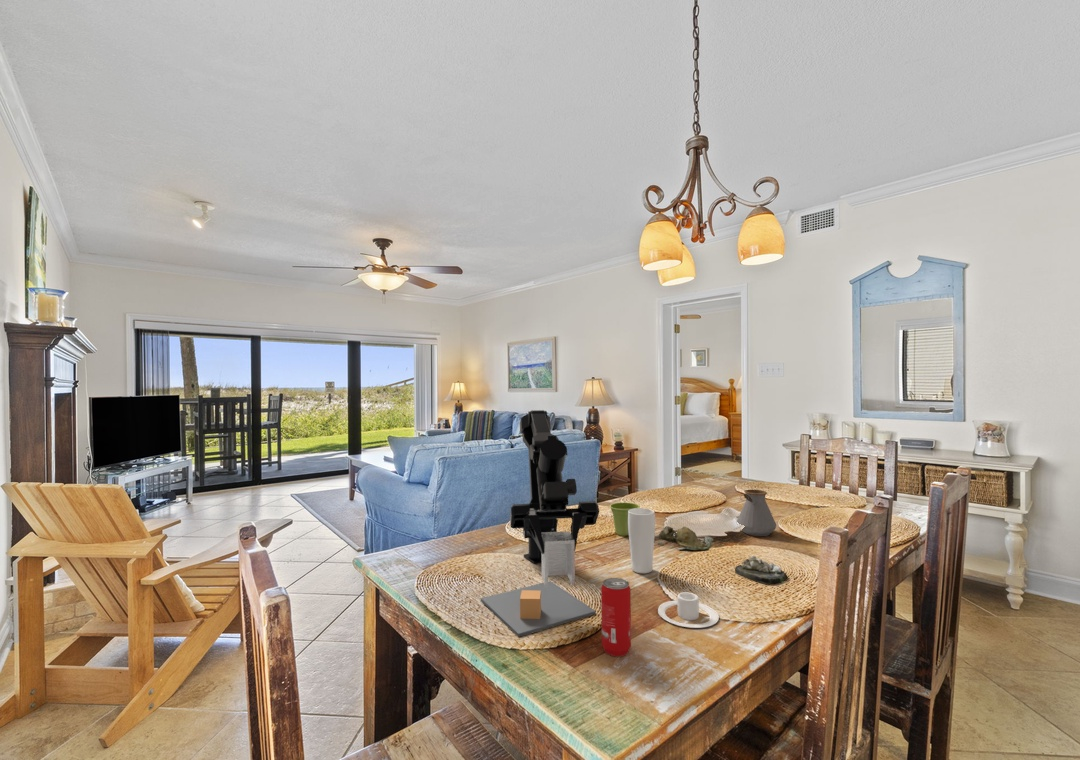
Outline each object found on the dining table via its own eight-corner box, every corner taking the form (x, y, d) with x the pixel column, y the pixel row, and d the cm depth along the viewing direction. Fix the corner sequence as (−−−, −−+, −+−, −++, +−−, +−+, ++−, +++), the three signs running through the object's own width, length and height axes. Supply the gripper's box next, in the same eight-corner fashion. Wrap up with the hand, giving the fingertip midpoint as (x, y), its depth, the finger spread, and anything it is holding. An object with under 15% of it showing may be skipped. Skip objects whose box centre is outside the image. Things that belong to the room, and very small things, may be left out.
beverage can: (599, 643, 92) (598, 577, 92) (626, 641, 92) (626, 576, 92) (605, 658, 86) (604, 589, 86) (634, 657, 87) (633, 588, 87)
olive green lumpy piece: (728, 551, 141) (728, 532, 141) (668, 555, 138) (668, 535, 138) (699, 532, 159) (699, 515, 159) (645, 535, 156) (645, 518, 156)
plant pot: (604, 534, 156) (604, 506, 156) (618, 527, 163) (617, 500, 163) (632, 540, 150) (632, 511, 150) (644, 532, 158) (644, 504, 158)
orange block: (521, 609, 104) (521, 590, 104) (541, 609, 104) (540, 590, 104) (520, 618, 100) (520, 598, 100) (540, 618, 100) (539, 598, 100)
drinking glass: (656, 576, 122) (655, 515, 122) (628, 574, 124) (627, 514, 124) (655, 566, 129) (654, 508, 129) (628, 564, 130) (628, 507, 130)
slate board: (480, 600, 110) (480, 598, 110) (550, 583, 119) (550, 581, 119) (518, 637, 94) (518, 633, 94) (595, 613, 103) (595, 611, 103)
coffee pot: (741, 525, 164) (741, 479, 164) (779, 530, 158) (779, 483, 158) (724, 542, 147) (723, 492, 147) (766, 550, 140) (765, 496, 140)
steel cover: (541, 575, 105) (541, 532, 105) (569, 573, 106) (569, 531, 106) (545, 586, 99) (544, 541, 99) (574, 585, 100) (574, 540, 100)
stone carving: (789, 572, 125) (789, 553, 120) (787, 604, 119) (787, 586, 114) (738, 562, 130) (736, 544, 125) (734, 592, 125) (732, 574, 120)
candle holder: (652, 603, 108) (652, 583, 108) (708, 603, 108) (708, 583, 108) (664, 631, 96) (664, 609, 96) (727, 631, 96) (727, 609, 96)
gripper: (510, 466, 105) (514, 535, 94) (596, 464, 107) (610, 530, 96) (508, 495, 113) (512, 561, 102) (589, 492, 115) (601, 556, 104)
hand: (558, 552), depth 101 cm, fingers closed on steel cover, 6 cm apart
